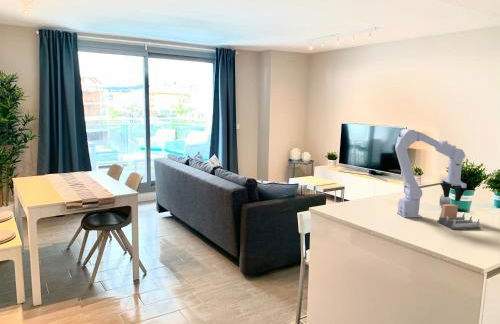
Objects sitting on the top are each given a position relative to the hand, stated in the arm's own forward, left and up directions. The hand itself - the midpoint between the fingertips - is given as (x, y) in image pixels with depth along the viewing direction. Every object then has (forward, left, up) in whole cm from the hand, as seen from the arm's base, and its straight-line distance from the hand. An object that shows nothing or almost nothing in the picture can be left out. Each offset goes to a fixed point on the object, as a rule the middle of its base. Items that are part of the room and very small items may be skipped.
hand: (451, 198), depth 190 cm
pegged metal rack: (-5, -13, -10) cm, 17 cm away
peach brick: (-2, -2, -10) cm, 10 cm away
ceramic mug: (+11, +16, -10) cm, 22 cm away
